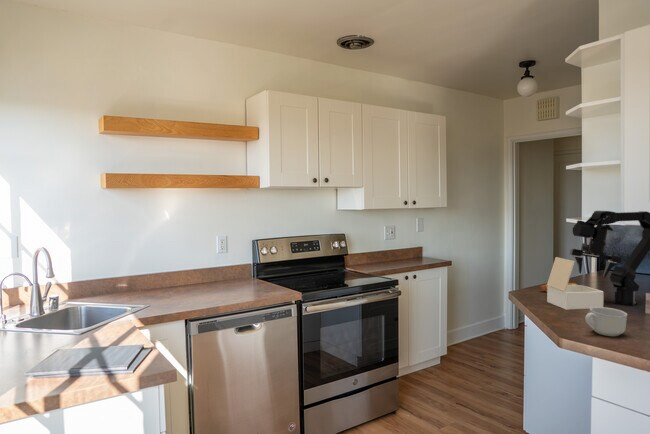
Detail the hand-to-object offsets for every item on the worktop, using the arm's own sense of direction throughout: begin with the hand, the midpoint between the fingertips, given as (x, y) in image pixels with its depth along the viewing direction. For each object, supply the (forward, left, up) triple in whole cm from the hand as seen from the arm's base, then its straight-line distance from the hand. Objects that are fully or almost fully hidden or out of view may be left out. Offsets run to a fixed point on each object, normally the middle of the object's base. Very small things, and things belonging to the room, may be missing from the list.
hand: (591, 275), depth 193 cm
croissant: (+16, -16, -13) cm, 26 cm away
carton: (+5, +6, -13) cm, 15 cm away
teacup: (-16, +43, -13) cm, 48 cm away
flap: (+9, +11, +1) cm, 14 cm away
